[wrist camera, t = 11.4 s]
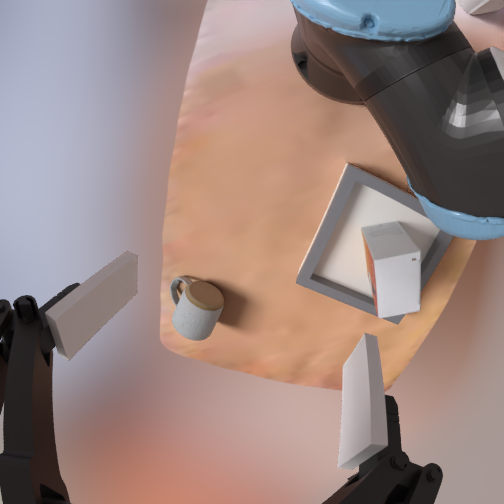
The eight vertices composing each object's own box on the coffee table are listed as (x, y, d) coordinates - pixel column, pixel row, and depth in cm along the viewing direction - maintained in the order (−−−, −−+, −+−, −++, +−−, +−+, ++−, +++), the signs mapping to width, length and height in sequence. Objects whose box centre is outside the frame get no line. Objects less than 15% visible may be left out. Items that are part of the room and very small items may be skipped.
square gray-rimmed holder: (346, 162, 35) (349, 165, 31) (448, 216, 33) (459, 225, 30) (298, 270, 43) (295, 283, 39) (393, 310, 42) (397, 324, 38)
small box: (360, 226, 36) (372, 258, 26) (398, 219, 34) (421, 249, 25) (366, 277, 38) (376, 320, 29) (402, 271, 37) (420, 312, 27)
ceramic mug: (232, 291, 48) (216, 317, 41) (217, 322, 51) (202, 348, 44) (180, 263, 48) (157, 283, 41) (169, 295, 52) (149, 318, 45)
